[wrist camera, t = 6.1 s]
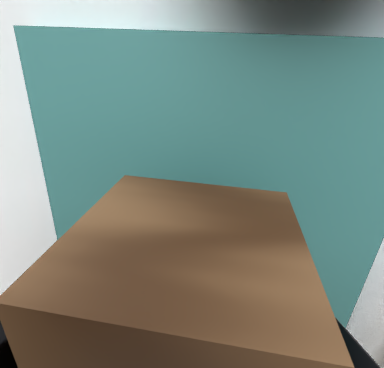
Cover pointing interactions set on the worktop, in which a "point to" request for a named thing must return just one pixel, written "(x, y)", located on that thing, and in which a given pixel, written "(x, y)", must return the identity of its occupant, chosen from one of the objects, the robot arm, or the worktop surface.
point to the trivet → (219, 126)
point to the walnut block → (175, 285)
